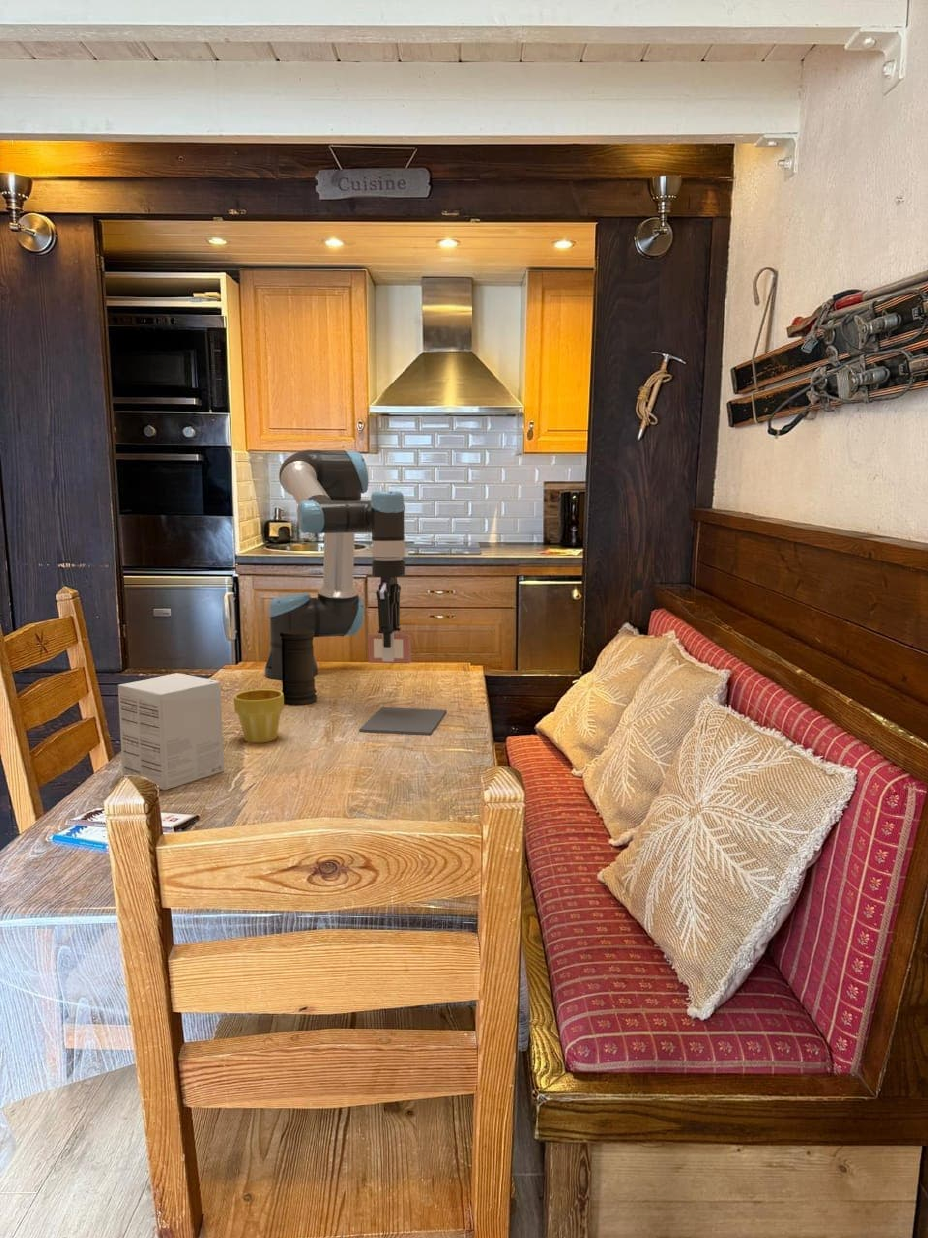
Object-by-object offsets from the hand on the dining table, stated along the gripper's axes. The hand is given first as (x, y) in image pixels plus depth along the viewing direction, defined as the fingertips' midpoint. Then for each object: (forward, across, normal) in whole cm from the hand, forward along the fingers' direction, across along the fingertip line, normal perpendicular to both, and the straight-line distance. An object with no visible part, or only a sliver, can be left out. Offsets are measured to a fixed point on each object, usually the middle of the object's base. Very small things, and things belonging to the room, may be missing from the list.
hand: (389, 659), depth 195 cm
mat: (+14, +3, +4) cm, 15 cm away
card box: (+1, 0, 0) cm, 1 cm away
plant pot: (+14, +22, -23) cm, 35 cm away
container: (+13, -11, -27) cm, 32 cm away
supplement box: (+14, +47, -29) cm, 57 cm away
